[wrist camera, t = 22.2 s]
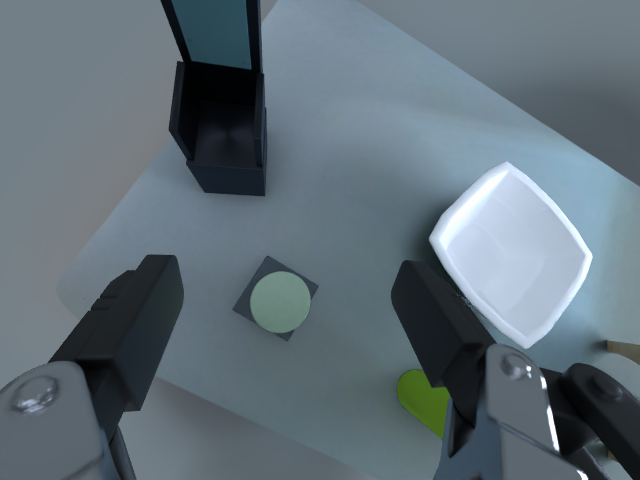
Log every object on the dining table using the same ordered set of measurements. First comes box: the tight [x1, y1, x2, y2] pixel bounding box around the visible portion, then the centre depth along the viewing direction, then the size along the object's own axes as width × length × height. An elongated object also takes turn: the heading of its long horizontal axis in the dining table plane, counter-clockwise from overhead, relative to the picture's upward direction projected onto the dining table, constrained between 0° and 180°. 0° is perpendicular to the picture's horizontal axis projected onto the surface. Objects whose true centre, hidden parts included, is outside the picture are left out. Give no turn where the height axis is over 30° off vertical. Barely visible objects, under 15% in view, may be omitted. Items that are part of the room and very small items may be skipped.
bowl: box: [429, 162, 592, 349], centre depth 42 cm, size 22×23×8 cm
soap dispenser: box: [397, 370, 450, 440], centre depth 30 cm, size 6×7×20 cm
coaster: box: [233, 256, 318, 341], centre depth 38 cm, size 9×9×1 cm
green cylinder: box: [250, 271, 311, 333], centre depth 30 cm, size 5×5×16 cm
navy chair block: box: [161, 0, 267, 196], centre depth 29 cm, size 12×9×26 cm
